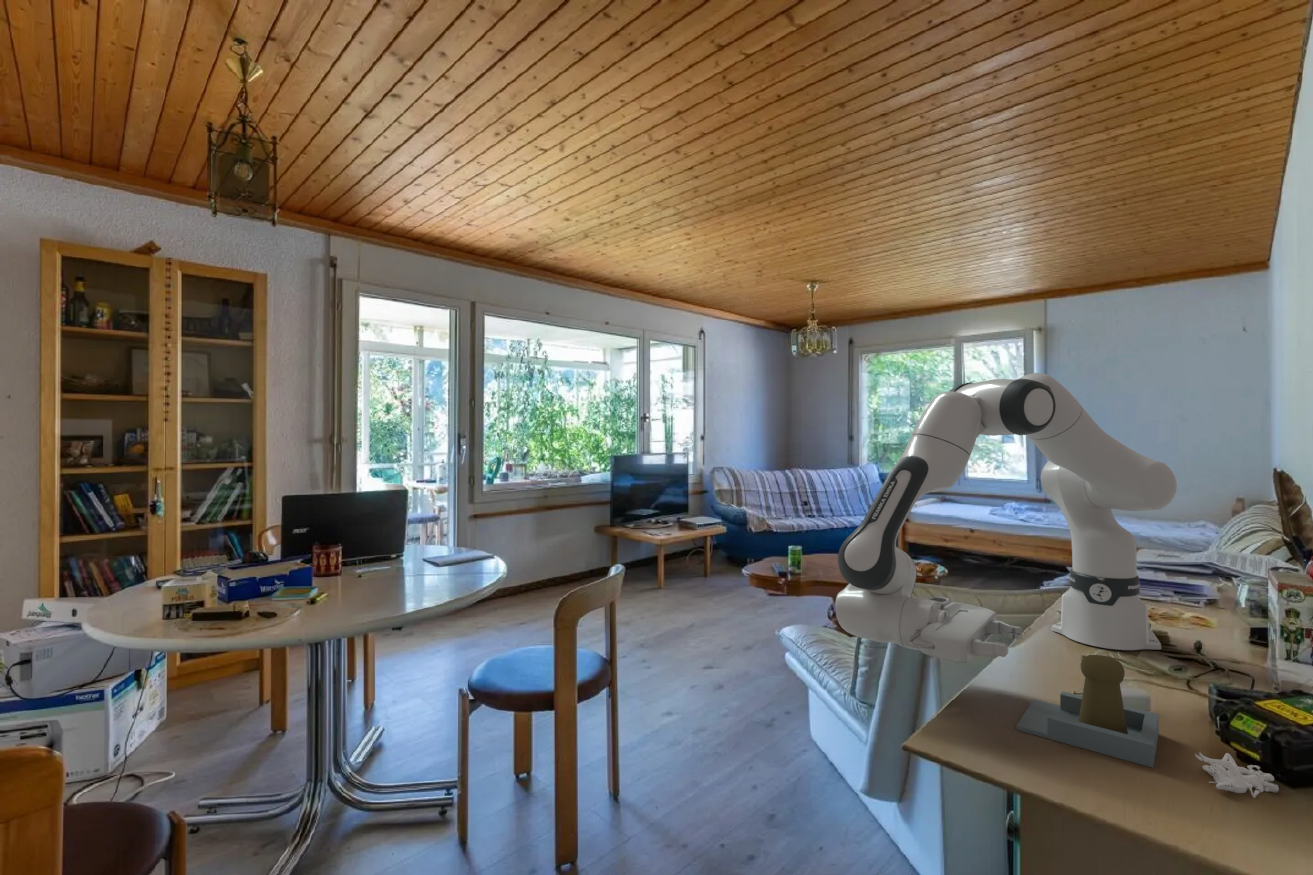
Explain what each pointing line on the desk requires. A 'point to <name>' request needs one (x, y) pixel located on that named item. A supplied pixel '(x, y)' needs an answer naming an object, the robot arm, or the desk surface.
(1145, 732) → the tray
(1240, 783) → the figurine
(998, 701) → the desk surface
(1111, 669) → the cork
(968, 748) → the desk surface
